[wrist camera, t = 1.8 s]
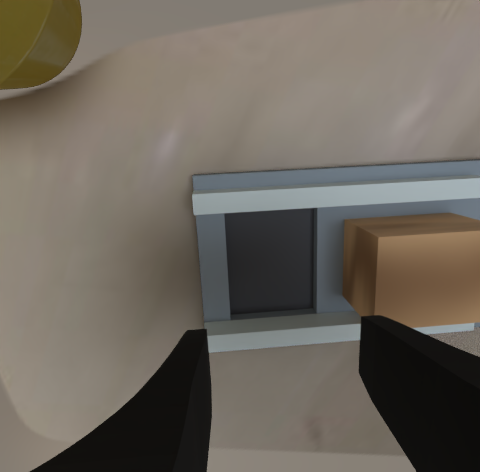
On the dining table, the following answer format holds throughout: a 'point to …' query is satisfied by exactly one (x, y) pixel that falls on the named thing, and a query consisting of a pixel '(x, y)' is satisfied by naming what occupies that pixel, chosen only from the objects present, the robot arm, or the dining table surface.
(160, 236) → the dining table surface
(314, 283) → the channel
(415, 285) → the block
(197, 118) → the dining table surface
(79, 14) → the plant pot
